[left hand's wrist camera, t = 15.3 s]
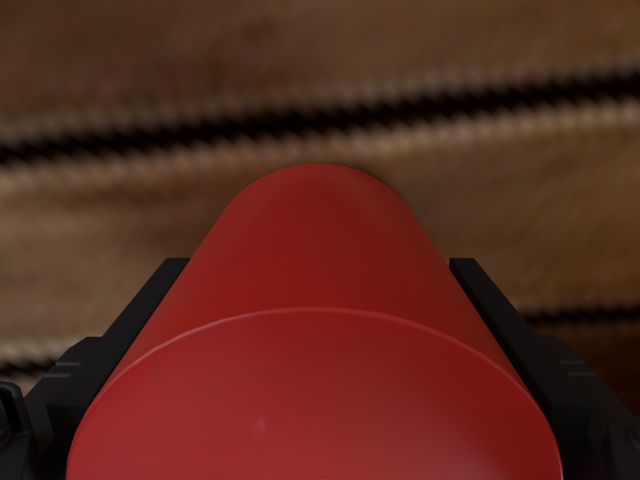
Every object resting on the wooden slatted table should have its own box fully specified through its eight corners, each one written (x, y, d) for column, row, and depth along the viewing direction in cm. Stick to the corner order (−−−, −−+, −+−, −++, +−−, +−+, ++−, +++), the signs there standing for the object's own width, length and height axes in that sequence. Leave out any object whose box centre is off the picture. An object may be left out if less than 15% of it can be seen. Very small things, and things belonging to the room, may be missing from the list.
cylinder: (422, 357, 17) (531, 659, 8) (223, 365, 17) (123, 669, 9) (431, 156, 14) (612, 294, 6) (192, 168, 15) (-8, 321, 6)
